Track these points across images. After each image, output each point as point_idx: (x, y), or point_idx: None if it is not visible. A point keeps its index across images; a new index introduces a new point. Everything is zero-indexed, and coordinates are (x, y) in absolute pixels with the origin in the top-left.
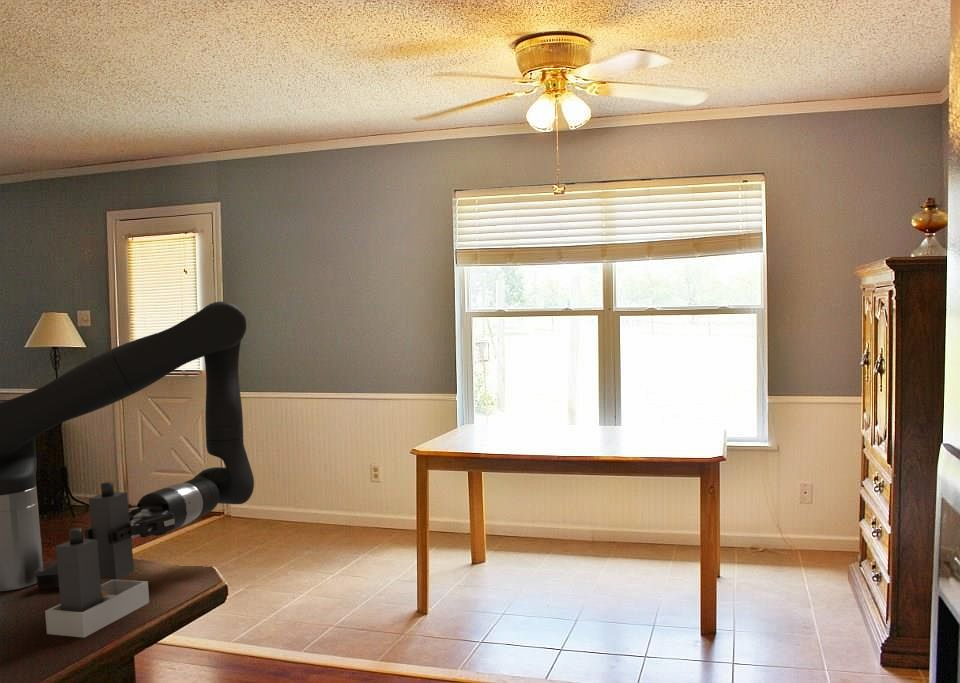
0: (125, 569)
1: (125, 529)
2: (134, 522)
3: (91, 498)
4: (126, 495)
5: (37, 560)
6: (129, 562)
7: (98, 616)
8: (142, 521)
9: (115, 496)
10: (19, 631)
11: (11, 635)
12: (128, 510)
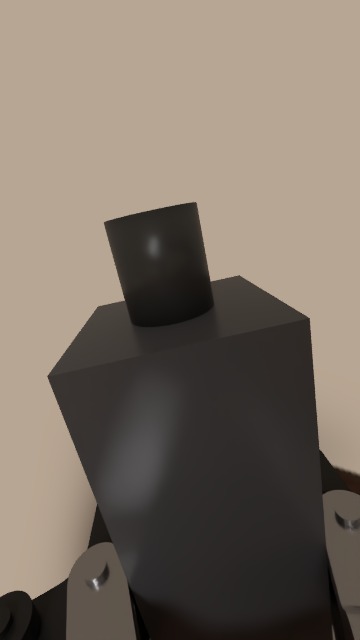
0: None
1: (97, 507)
2: (72, 580)
3: (218, 280)
4: (61, 395)
5: None
6: None
7: None
8: (2, 609)
9: (86, 322)
10: (356, 489)
11: (343, 472)
12: (104, 518)
